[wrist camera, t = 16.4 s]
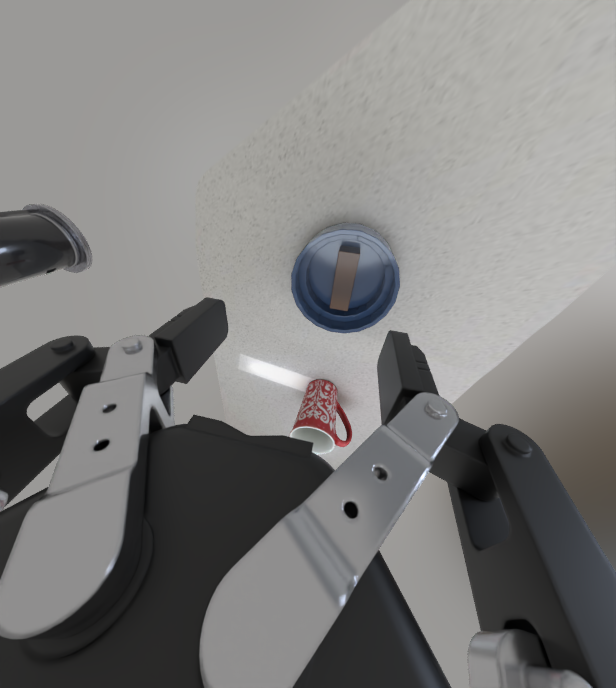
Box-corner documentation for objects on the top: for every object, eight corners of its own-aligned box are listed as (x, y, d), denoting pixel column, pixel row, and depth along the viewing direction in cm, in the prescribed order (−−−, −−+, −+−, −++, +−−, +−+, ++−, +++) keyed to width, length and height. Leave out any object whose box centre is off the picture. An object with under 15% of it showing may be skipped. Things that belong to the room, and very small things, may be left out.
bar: (340, 245, 34) (338, 250, 31) (360, 248, 34) (360, 253, 31) (331, 299, 39) (329, 308, 37) (348, 302, 39) (347, 311, 36)
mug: (297, 392, 56) (283, 442, 46) (312, 370, 51) (299, 421, 40) (342, 412, 58) (338, 466, 47) (361, 393, 52) (361, 447, 42)
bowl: (283, 277, 39) (272, 291, 35) (343, 196, 31) (340, 200, 26) (346, 329, 43) (344, 348, 38) (415, 270, 35) (424, 285, 30)
